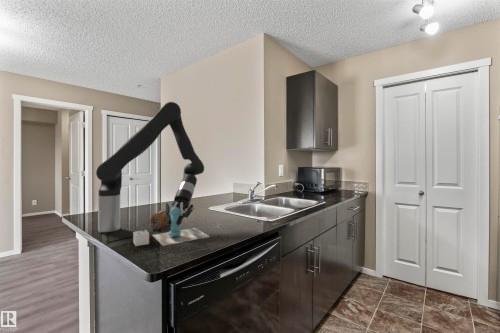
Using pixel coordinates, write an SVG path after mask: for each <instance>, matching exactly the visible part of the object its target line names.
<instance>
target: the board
mask: <svg viewBox="0 0 500 333" xmlns="http://www.w3.org/2000/svg"><path fill="white" fill-rule="evenodd" d="M179 230H180V231H181V235H178V236H170V235H169V231H168V232H163V233H156V234H152V235H151V236H152V237H153V238H154V239H155V240H156V241H157V242H159V244H160V245H162V246H163V247H164V246H169V245H174V244H179V243H184V242H188V241H189V242H190V241H195V240H202V239H206V238H210V237H211V236H210V235H208V234H207V233H204V232H203V231H202V230H199V229H198V228H195V227H193V228H186V229H179Z"/></svg>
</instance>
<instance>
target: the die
mask: <svg viewBox="0 0 500 333" xmlns="http://www.w3.org/2000/svg"><path fill="white" fill-rule="evenodd" d="M132 243H133V244H134V246H135V247H139V246H144V245H149V244H150V232H149V231H148V230H147V229H144V230H137V231H133V232H132Z"/></svg>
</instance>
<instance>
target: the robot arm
mask: <svg viewBox="0 0 500 333" xmlns="http://www.w3.org/2000/svg"><path fill="white" fill-rule="evenodd" d="M168 126H169V127H170V128H171V129H170V130H171V131H172V133H173V136H174V137H175V142H176V143H177V144H176V145H177V147H178V150H179V153H180V155H181V158H182V160H184V161H185V160H189V162H190V163H187V164H186V165H185V166H184V167H183V175H182V176H183V178H182V181H181V183H180V184H179V186H178V189H177V191H176V193H175V196H174V199H173V201H172V202H171V203H169V202H166V203H165V210H166V215H167V216H168V219H167V223H168V225H167V226H171V209H172V208H174V207H177V208H179V209H180V213H179V214H180V216H179V217H178V220H177V225H181V224H182V222H183V220H184V218H186V219H187V218H189V216H190V215H191V213H192V212H193V211H194V210H195V206H194V205H193V204H192V203H191V201H192V198H193V195H194V192H195V188H196V185H197V181H198V179H197V177H196V176H197V175H201V174H203V173H204V171H205V165H204V163H203V162H202V160H201V159H200V158H199V156H198V154H196V152H195V150H194V147H193V144H192V142H191V140H190V138H189V135H188V134H187V131H186V129H185V126H184V123H183V119H182V109H181V107H180V105H179V104H178V103H176V102H174V101H169V102H166V103H165V104H163V105H162V107H161V108H160V109H159V110H158V111H157V113H156V114H154V115H153V117H152V118H150V120H148V121H147V122H146V123H145V124H144V125H143V126H141V127H140V128H139V129H138V130H136V132H135V133H133V134H132V135H131V136H130V137H129V138H128V139H127V140H126V141H125V142H124V144H122V146H120V147H119V149H118V150H117V151H116V152H115V153H114V154H112V155H111V156H109V158H108V159H106V160H105V161H102V163H100V164H99V165H98V167H97V169H96V171H95V174H96V176H97V179H98V180H100V187H99V190H98V210H97V231H98V233H110V232H111V233H112V232H116V231H119V230H120V229H121V189H122V183H123V182H122V181H123V180H122V179H123V172H122V171H123V169H124V168H125V167H126V166H127V164H128V163H131V161H133V160H134V159H136V158H137V157H139V156H140V155H142V154H143V153H144V152H145V151H147V149H148V148H149V147H150V146H152V145H153V144H154V142H155V141H156V140H157V139H158V137H159V136H160V134H161V133H162V132H163V131H164V130H165V129H166V128H167V127H168ZM190 203H191V204H190Z"/></svg>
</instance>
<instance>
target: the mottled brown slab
mask: <svg viewBox="0 0 500 333" xmlns="http://www.w3.org/2000/svg"><path fill="white" fill-rule="evenodd" d="M167 219H168V216H167V215H166V209H163V210H160V211H157V212H155V213H153V214H152V215H151V216H150V227H151V229H152V230H156V231H157V230H159V229H162V228H163V227H168V226H169V225H168V223H167Z"/></svg>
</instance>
